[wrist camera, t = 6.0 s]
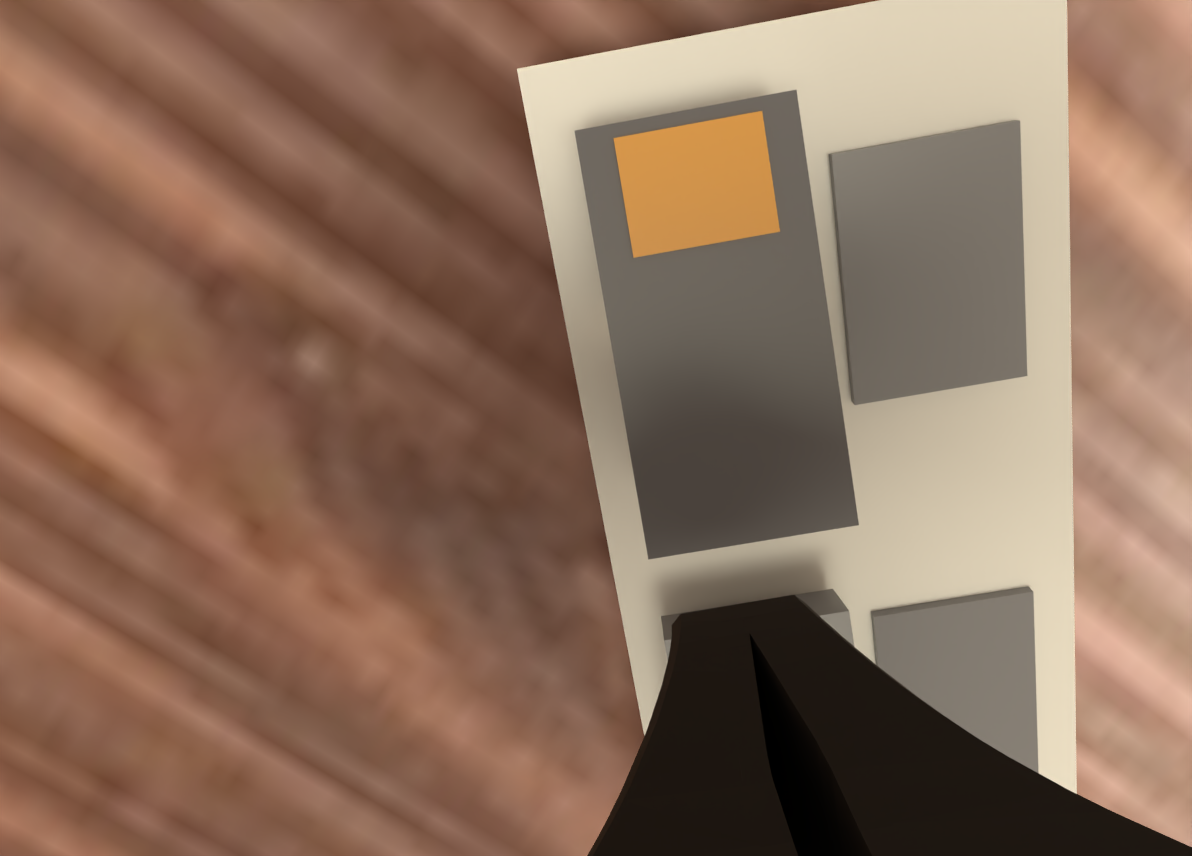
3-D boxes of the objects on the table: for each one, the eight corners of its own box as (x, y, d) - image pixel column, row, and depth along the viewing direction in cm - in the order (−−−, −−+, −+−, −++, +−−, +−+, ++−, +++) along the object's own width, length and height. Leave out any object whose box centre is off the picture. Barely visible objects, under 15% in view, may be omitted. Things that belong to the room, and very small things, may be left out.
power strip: (740, 1202, 27) (764, 1374, 23) (527, 71, 17) (513, 67, 13) (1029, 1165, 27) (1099, 1333, 23) (984, -15, 17) (1095, -43, 13)
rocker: (645, 539, 15) (648, 561, 14) (578, 145, 14) (574, 129, 13) (839, 507, 15) (860, 526, 14) (782, 107, 14) (797, 88, 13)
